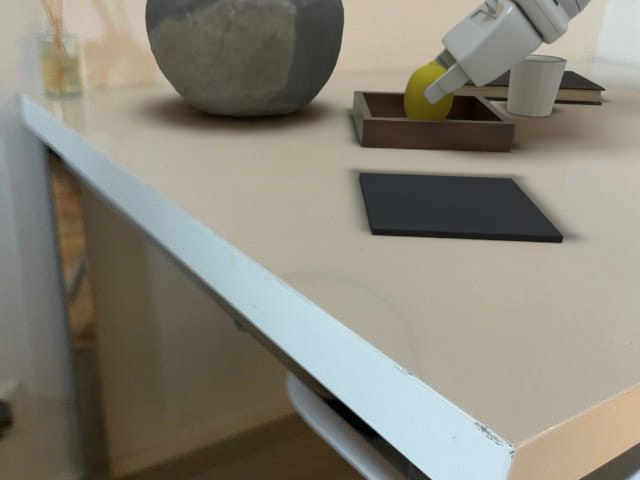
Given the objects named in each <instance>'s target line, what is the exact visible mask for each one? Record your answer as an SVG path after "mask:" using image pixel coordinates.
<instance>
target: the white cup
mask: <svg viewBox="0 0 640 480" xmlns="http://www.w3.org/2000/svg"><path fill="white" fill-rule="evenodd" d="M567 63H568V59H566V58H563V57H560V56H555V55H554V56H553V55H547V54H530V55H529V56H527V57H526V58H525V59H523V60H522V61H521V62H519V63H518V64H516V65H515V66H514V67H512V68H511V71H510V81H509V92H508V101H506V104H507V105H506V111H507V112H508V113H509V114H513V115H518V116H523V117H531V118H532V117H534V118H536V117H537V118H538V117H539V118H540V117H541V118H542V117H548V116H551V114H552V111H553V108H554V105H555V103H554V102H555V99H556V95H557V92H558V89H559V86H560V83H561V80H562V76H563V73H564V71H566V66H567Z"/></svg>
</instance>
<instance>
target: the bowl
mask: <svg viewBox="0 0 640 480" xmlns="http://www.w3.org/2000/svg"><path fill="white" fill-rule="evenodd" d="M144 19H145V21H144V22H145V30H146V34H147V40H148V43H149V46H150V47H149V48H150V51H151V53H152V55H153V58H154V60H155V63H156V64H157V66H158V69H159V70H160V72H161V74H162V75H163V77H164V78H165V79H166V80H167V81H168V82H169V83H170V85H171V86H172V87H173V88H174V90H175V91H176V93H177V94H179V96H180V97H181V98H183V100H184V101H186V102H187V104H189V105H191V106H192V107H194V108H195V109H197V110H199V111H201V112H205V114H210V115H214V116H217V115H222V116H231V117H235V118H238V117H258V116H259V117H260V116H285V115H289V114H291V113H293V112H295V111H297V110H299V109H301V108H303V107H306V105H308V104H310V103H311V102H312V101H313V100H314V99H315V98H316V97H317V96H318V95H319V93H321V91H322V90H323V88H324V87H325V86H326V84H327V83H328V81H329V80H330V79H331V76H332V75H333V73H334V71H335V69H336V66H337V63H338V59H339V57H340V52H341V49H342V42H343V36H344V35H343V34H344V28H345V27H344V25H345V7H344V3H343V0H146V3H145V13H144Z"/></svg>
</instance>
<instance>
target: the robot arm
mask: <svg viewBox="0 0 640 480" xmlns="http://www.w3.org/2000/svg"><path fill="white" fill-rule="evenodd" d="M591 1H592V0H484V2H482V4H480V5H479V6H477V7H476V8H475V9H473V10H472V11H471V12H470V13H468V15H466V16H465V17H464V18H463V19H462V20H460V21H459V22H458V23H457V24H455V25H454V26H453V27H452V28H451V29H449V31H447V33H445V34H444V36H443V37H442V39H441V41H440V42H441V43H442V45H443V46H444V48H443V49H442V50H441V51H440V52H439V53H437V54H436V55H435V56H434V58H433V59H432V61H436V62H437V64H438V65H440V66H442V67H443V68H445V69H446V70H448V71H447V72H446V73H444V74H443V75H442V76H441V77H439V78H438V79H437V80H436V81H435V80H434V81H433V82H431V83H430V84H429V85H428V86H427V87H426V88H424V90H423V94H424V96H425V97H426V99H427V100H428V101H429V102H430V103H431V104H435V103H436V102H438V101H439V100H440V99H441V98H443V97H444V96H445V95H447V94H449V93H450V92H452V91H454V90H456V89H458V88H460V87H461V86H463V85H464V84H465V83H466V82H467V81H469V80H470V79H471V80H472V81H473V83H474V84H475V85H476V86H477V87H481V86H483V85H486V84H488V83H490V82H492V81H493V80H495V79H497V78H498V77H499V76H501V75H502V74H504V73H505V72H507V71H508V70H509V69H511V68H512V67H514V66H515V65H516V64H518V63H519V62H521V61H522V60H523V59H525V58H526V57H527V56H529V55H532V54H533V53H535V51H536V50H538V49H539V48H540V47H541V46H542V45H543V43H544V44H546V45H552V44H554V43H555V42H556V41H558V40H559V39H560V38H561V37H562V36H564V35H565V34H566V33H567V32H568V29H569V23H570V22H571V21H572V20H573V19H574V18H576V17H577V16H578V15H579V14H581V13H582V12H583V11H584V10H585V8H586V7H587V6H588V5H589V3H590V2H591Z"/></svg>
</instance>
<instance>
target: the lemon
mask: <svg viewBox="0 0 640 480" xmlns="http://www.w3.org/2000/svg"><path fill="white" fill-rule="evenodd" d="M446 72H447V70H446V69H445V68H443V67H442V66H440V65H438V64H437V62H436V61H433V60H430V61H429V62H428V63H427V64H424V65H421V66H420V67H419V68H417V69H416V70H414V71H413V73H412V74H411V75H410V76H409V79H408V80H407V83H406V87H405V90H404V92H405V95H404V108H405V112H406V114H407V116H408V118H407V119H433V120H446V119H445V118H446V116H447V115H448V113H449V111H450V109H451V106H452V103H453V96H454V91H452V92H450V93H449V94H447V95H445V96H444V97H443V98H441V99H440V100H439V101H438V102H436V103H435V104H431V103H430V102H429V101H428V100H427V99H426V97H425V96H424V94H423V90H424V88H426V87H427V86H428V85H429V84H430V83H431V82H433V81H434V80H435V81H436V80H437V79H438V78H439V77H441V76H442V75H443V74H444V73H446Z"/></svg>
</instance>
